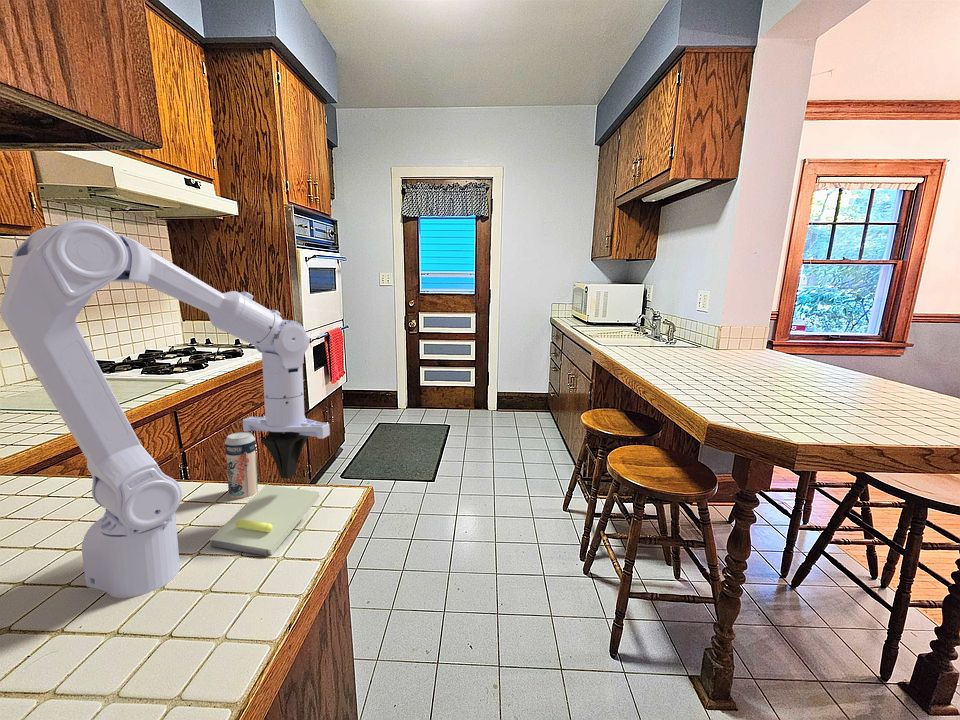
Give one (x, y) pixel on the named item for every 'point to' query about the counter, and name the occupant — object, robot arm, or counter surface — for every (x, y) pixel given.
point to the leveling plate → (265, 520)
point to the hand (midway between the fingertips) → (288, 475)
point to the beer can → (241, 465)
